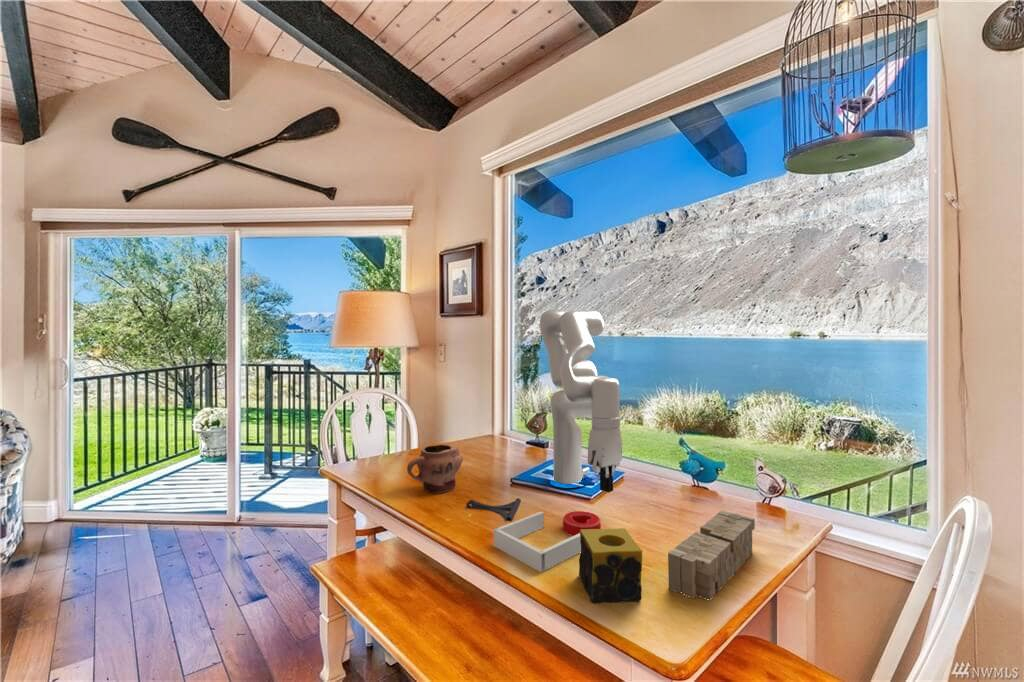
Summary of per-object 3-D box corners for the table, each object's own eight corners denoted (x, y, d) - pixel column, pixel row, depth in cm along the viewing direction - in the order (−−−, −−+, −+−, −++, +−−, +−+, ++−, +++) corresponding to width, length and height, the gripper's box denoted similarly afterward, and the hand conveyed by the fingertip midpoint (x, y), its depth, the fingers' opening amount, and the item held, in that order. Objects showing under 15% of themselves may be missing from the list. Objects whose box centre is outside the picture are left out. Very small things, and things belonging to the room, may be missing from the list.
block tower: (706, 610, 84) (756, 551, 105) (706, 567, 84) (756, 516, 105) (666, 593, 90) (721, 540, 110) (666, 552, 89) (721, 506, 110)
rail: (540, 526, 118) (540, 511, 118) (589, 548, 106) (589, 531, 106) (493, 546, 108) (493, 529, 107) (541, 572, 96) (541, 554, 95)
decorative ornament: (564, 521, 122) (564, 509, 122) (600, 523, 121) (600, 511, 121) (562, 537, 113) (562, 524, 113) (601, 539, 111) (601, 527, 111)
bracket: (473, 500, 139) (473, 491, 139) (520, 503, 136) (520, 494, 136) (459, 519, 124) (459, 509, 124) (512, 523, 122) (512, 513, 122)
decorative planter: (420, 503, 134) (420, 457, 134) (398, 493, 142) (398, 450, 142) (471, 487, 149) (471, 445, 148) (448, 478, 157) (448, 439, 157)
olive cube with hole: (578, 575, 94) (578, 528, 94) (624, 573, 95) (625, 526, 95) (590, 605, 84) (590, 552, 84) (642, 602, 85) (643, 550, 85)
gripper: (610, 418, 130) (611, 482, 130) (577, 424, 121) (578, 493, 120) (633, 421, 125) (634, 487, 125) (599, 428, 115) (600, 500, 115)
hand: (606, 490), depth 122 cm, fingers closed
